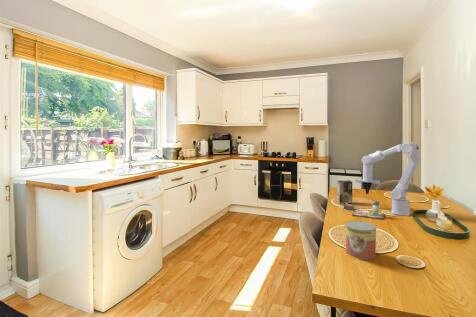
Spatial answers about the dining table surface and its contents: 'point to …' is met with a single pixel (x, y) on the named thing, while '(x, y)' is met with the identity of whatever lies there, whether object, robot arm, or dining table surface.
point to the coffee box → (344, 191)
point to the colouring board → (368, 214)
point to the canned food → (361, 239)
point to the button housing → (349, 207)
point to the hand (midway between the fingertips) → (367, 193)
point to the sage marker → (375, 207)
